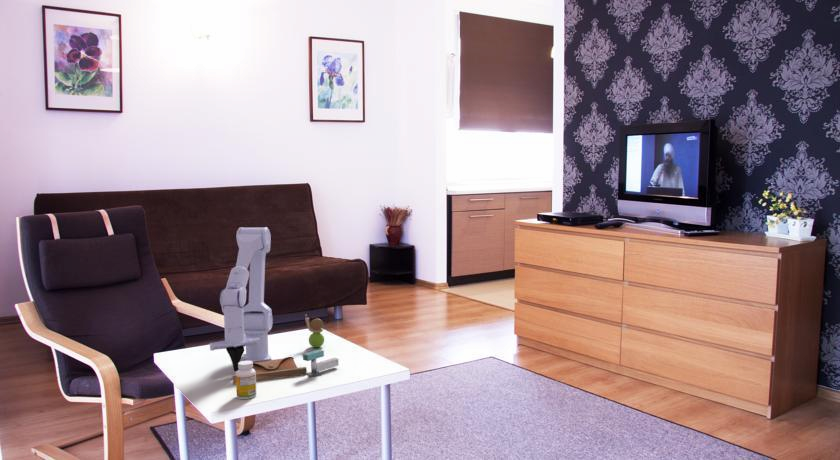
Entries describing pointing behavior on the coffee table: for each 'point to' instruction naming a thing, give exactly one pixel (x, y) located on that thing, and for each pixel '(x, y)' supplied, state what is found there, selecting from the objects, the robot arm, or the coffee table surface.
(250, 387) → the supplement bottle
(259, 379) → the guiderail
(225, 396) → the coffee table surface
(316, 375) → the lock plate
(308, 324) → the snail figurine
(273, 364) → the sunglasses case
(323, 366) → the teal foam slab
